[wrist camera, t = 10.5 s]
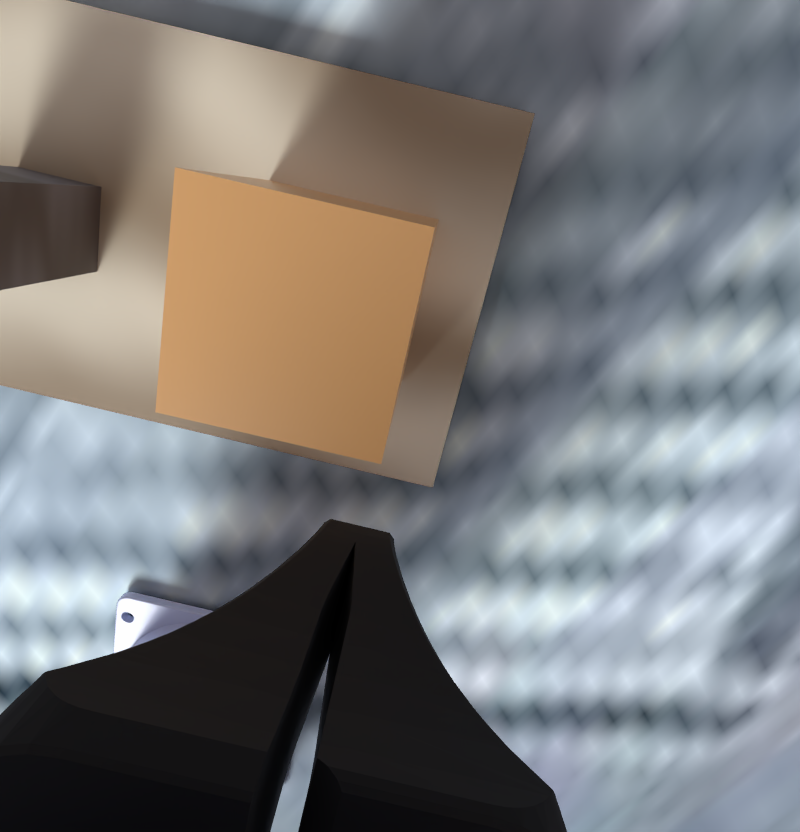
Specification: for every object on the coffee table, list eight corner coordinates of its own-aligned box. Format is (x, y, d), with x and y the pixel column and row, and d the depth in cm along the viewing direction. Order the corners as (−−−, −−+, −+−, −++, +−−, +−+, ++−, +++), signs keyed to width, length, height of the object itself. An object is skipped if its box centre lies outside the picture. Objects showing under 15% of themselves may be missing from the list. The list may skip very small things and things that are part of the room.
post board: (433, 477, 22) (428, 570, 16) (-55, 361, 21) (-225, 415, 16) (531, 117, 18) (569, 78, 12) (-71, -29, 17) (-307, -135, 12)
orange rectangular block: (401, 382, 20) (380, 464, 13) (246, 346, 20) (155, 411, 13) (438, 219, 18) (434, 227, 12) (269, 180, 18) (174, 167, 12)
